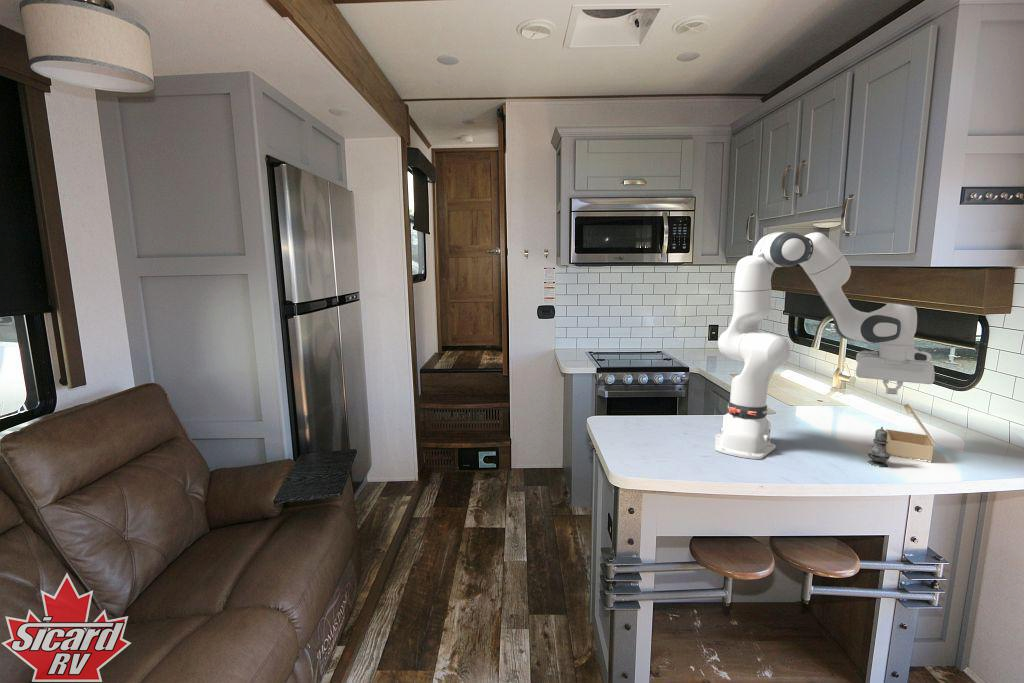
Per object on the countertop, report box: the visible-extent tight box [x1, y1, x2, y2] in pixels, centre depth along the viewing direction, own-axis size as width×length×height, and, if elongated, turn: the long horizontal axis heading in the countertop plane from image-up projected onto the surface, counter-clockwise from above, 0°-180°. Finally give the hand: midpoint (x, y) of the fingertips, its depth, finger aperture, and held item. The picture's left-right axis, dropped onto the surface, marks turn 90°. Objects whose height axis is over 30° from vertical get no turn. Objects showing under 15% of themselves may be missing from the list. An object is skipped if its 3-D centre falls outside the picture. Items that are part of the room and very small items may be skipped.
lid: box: [903, 403, 937, 447], centre depth 157 cm, size 14×12×1 cm
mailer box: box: [885, 428, 934, 461], centre depth 159 cm, size 14×11×5 cm
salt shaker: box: [866, 426, 892, 468], centre depth 148 cm, size 6×6×12 cm
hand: (891, 393), depth 159 cm, fingers closed
